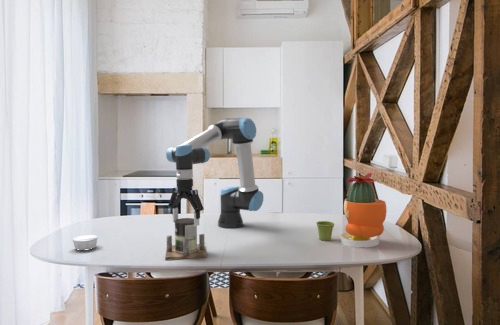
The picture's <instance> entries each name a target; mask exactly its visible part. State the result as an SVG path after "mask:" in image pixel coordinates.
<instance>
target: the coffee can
mask: <svg viewBox="0 0 500 325" xmlns="http://www.w3.org/2000/svg"><path fill="white" fill-rule="evenodd" d="M183 239H188V243H189V253H192V252H195V251H197V244H198V226H194V217H185V218H183V217H181V218H178V219H177V220H175V222H174V245H175V251H176V252H178V253H183Z"/></svg>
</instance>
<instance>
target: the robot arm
mask: <svg viewBox="0 0 500 325" xmlns="http://www.w3.org/2000/svg"><path fill="white" fill-rule="evenodd" d="M256 135H257V127H256V124H255V122H254V121H253V120H252V119H251V118H249V117H231V118H223V119H220V120H219V121H217V122H214V123H213V124H211V125H210V126H208V127H207V129H206V130H204V131H202V132H201V133H199V134H197V135H195V136H194V137H192V138H191V139H189V140H187V141H185V142H184V143H182V144H177V145H176V146H172V147H169V148H168V149H167V150H166V152H165V157H166V159H167V161H168V162H170V163H175V167H176V168H175V170H176V171H175V173H176V174H175V175H176V187H173V188H172V193H171V197H170V198H169V200H168V201H169V202H168V207H170V208H171V215H172V222H173V223H175V220H177V219H179V208H178V205H179V204H180V202H181V200H182V199H184V200H187V201H188V202H189V203H190V206H192V208H193V210H194V211H193V219H194V226H197V227H198V226H200V219H201V211H204V209H205V208H204V206H203V203H202V200H201V198H200V196H199V190H198V189H193V187H194V179H193V178H194V172H193V170H194V169H193V168H194V167H193V166H194V165H196V164H205V163H207V162H209V160H210V158H211V153H210V151H209V149H208V148H207V147H208V146H209V145H210V144H212V143H214V142H219V141H221V140H231V141H232V144H233V145H234V147H235V151H236V160H237V168H238V175H239V184H240V185H239V186H228V187H223V188H221V190H220V195H219V196H220V213H219V214H220V215H219V218H218V220H217V226H218V227H220V228H223V229H235V228H240V227H243V225H244V220H243V217H242V213H241V210H242V211H250V212H256V211H259V210H260V209H261V207H262V205H263V203H264V193H263V192H262V191H261V190H259V186H258V185H257V184H256V179H255V171H254V159H253V153H252V143H253V142H254V139H255V138H256Z"/></svg>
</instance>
